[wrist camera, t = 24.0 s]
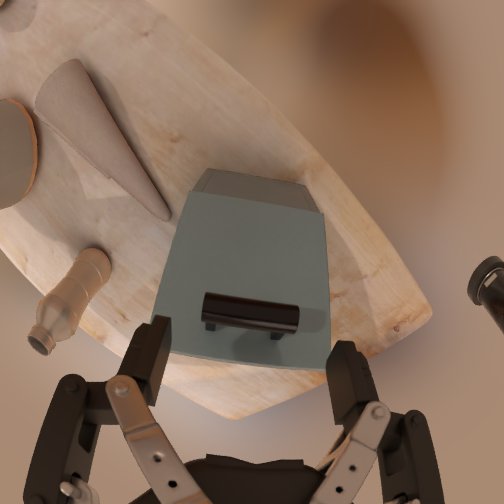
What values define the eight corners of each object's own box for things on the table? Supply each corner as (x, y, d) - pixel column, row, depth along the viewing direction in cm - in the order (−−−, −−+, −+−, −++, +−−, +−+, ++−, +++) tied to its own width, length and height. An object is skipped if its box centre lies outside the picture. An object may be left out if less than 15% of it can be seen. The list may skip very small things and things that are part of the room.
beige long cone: (206, 196, 32) (60, 58, 20) (159, 239, 35) (25, 114, 23) (210, 175, 39) (88, 59, 27) (169, 212, 42) (55, 105, 29)
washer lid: (327, 371, 19) (359, 354, 15) (146, 347, 18) (129, 323, 14) (321, 218, 27) (339, 181, 23) (189, 196, 26) (189, 154, 22)
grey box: (282, 273, 43) (288, 318, 34) (197, 259, 42) (183, 302, 33) (306, 185, 36) (321, 214, 27) (207, 168, 35) (190, 191, 27)
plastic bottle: (106, 240, 41) (38, 326, 23) (121, 275, 44) (67, 366, 27) (78, 245, 41) (10, 323, 24) (92, 278, 45) (37, 361, 27)
